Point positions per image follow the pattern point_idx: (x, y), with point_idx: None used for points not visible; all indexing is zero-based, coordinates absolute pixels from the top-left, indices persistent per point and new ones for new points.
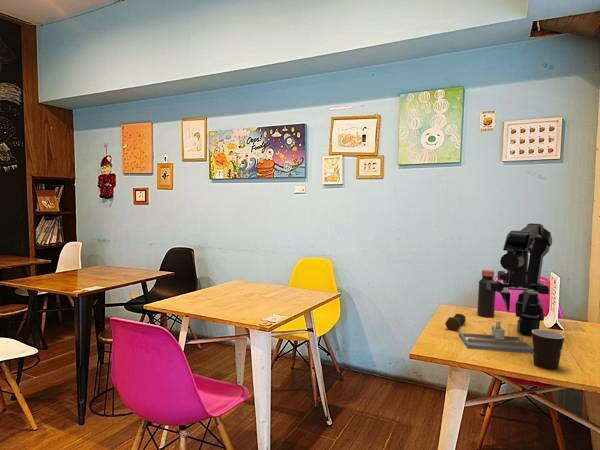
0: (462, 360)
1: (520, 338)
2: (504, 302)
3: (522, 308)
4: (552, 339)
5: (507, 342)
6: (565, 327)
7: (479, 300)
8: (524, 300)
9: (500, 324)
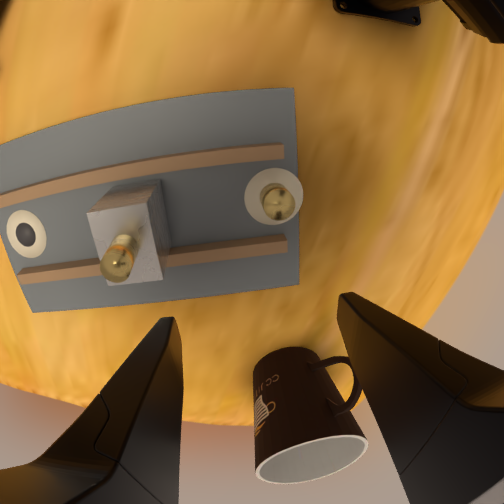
0: (54, 391)
1: (268, 216)
2: (114, 391)
3: (353, 311)
4: (303, 478)
5: (185, 263)
6: None
7: None
8: (411, 400)
9: (132, 266)
